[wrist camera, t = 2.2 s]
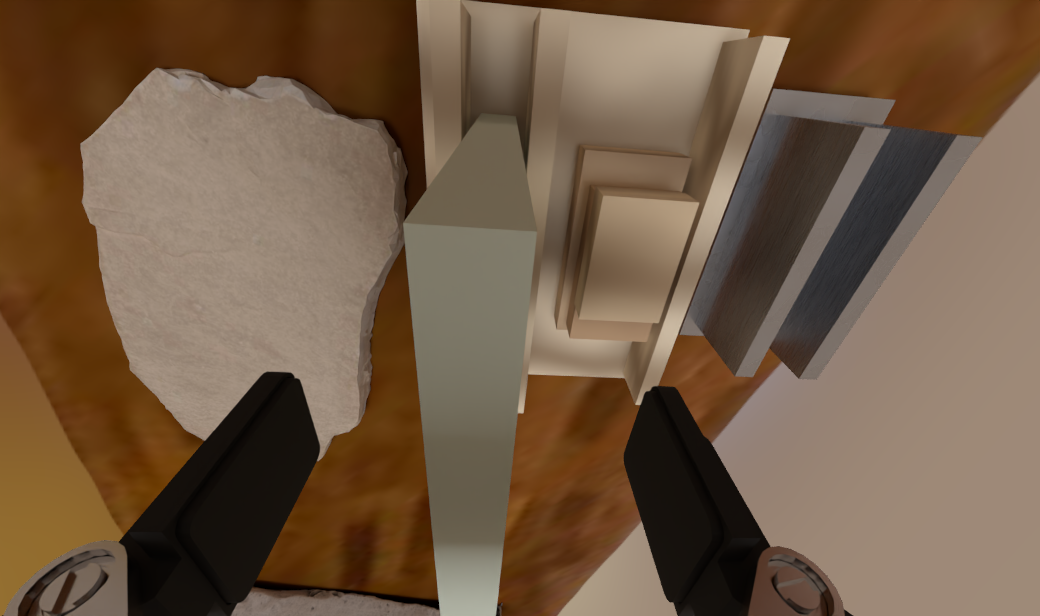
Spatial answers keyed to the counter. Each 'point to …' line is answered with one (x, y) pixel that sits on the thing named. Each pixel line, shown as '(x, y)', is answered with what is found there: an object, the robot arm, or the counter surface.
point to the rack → (596, 135)
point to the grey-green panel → (471, 350)
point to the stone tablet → (244, 242)
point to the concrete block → (325, 604)
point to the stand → (815, 227)
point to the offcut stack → (622, 242)
